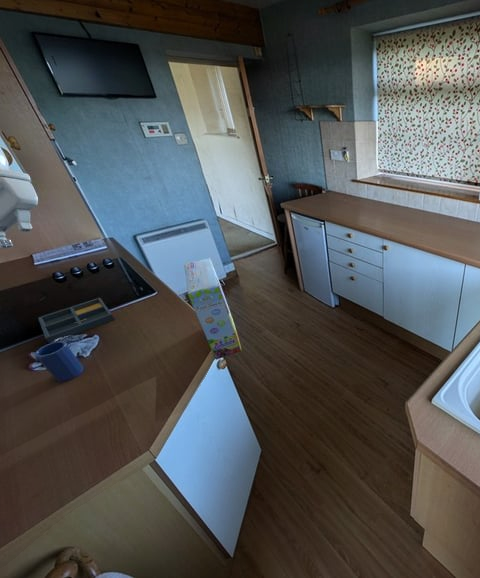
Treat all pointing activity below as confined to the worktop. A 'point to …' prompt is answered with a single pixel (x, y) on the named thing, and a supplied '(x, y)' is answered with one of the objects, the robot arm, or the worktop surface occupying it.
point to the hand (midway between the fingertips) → (16, 238)
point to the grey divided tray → (75, 319)
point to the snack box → (211, 308)
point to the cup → (59, 361)
